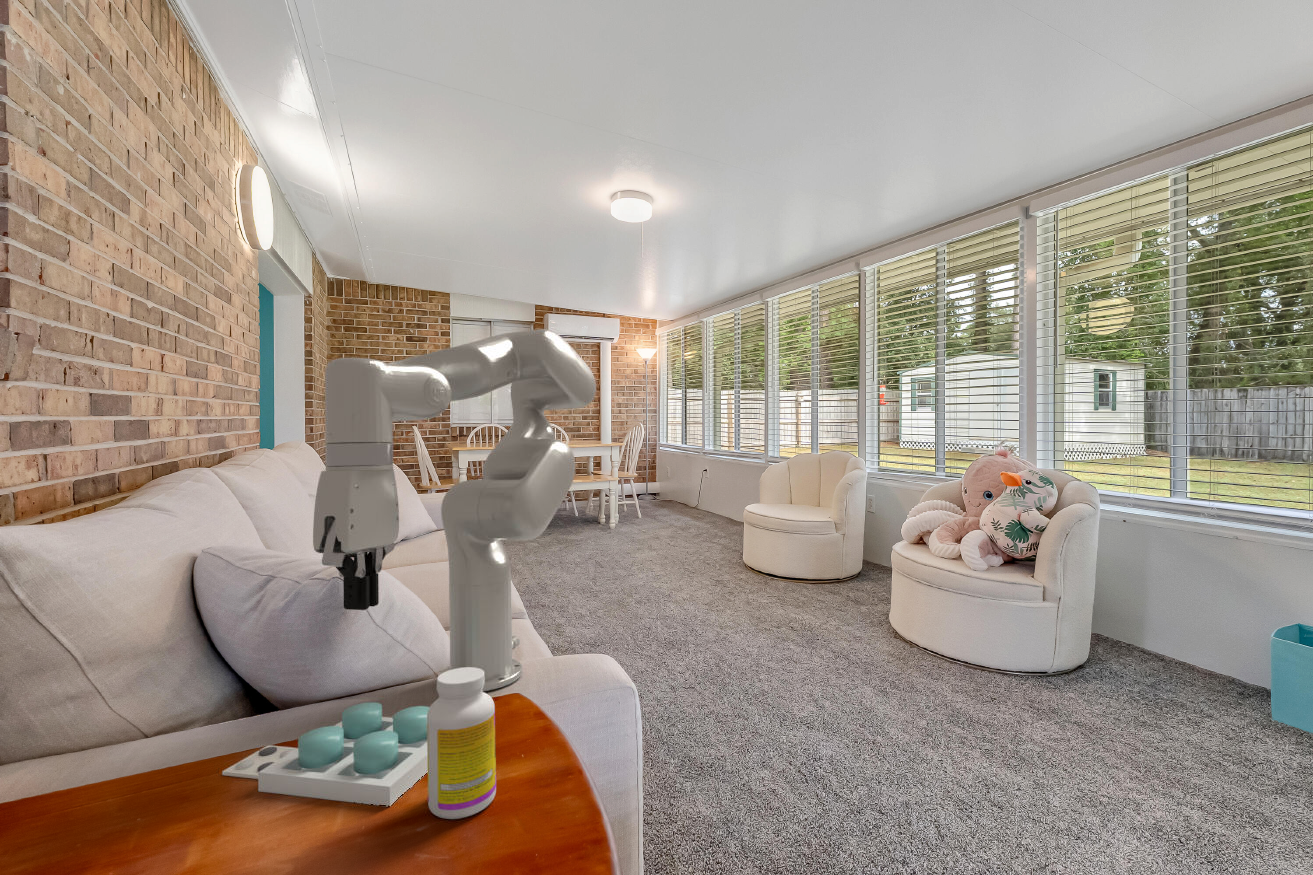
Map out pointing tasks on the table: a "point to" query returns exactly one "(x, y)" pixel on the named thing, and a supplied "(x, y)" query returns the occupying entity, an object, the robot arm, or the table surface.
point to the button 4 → (411, 724)
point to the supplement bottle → (461, 745)
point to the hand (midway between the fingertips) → (361, 606)
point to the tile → (257, 762)
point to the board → (348, 775)
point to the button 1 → (320, 747)
